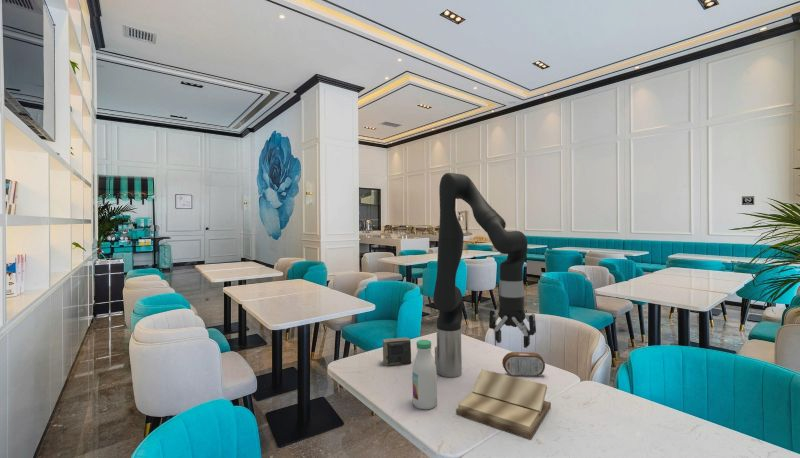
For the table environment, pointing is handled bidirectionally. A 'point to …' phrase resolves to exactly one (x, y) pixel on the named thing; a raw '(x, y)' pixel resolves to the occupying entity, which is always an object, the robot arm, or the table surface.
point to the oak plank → (511, 390)
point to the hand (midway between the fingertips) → (512, 344)
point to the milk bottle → (424, 377)
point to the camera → (396, 351)
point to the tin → (523, 364)
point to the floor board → (502, 414)
